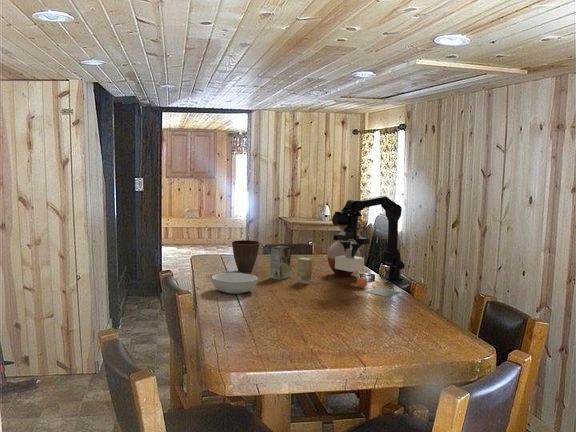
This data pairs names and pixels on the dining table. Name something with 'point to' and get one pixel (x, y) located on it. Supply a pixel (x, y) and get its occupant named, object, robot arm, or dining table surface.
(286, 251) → the coffee box
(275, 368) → the dining table surface
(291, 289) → the dining table surface
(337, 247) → the jug
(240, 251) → the plant pot
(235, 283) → the serving bowl
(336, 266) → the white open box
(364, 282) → the ball
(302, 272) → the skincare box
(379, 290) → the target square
